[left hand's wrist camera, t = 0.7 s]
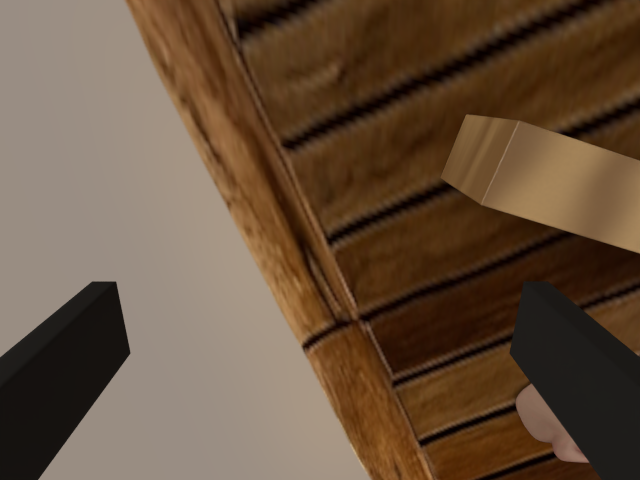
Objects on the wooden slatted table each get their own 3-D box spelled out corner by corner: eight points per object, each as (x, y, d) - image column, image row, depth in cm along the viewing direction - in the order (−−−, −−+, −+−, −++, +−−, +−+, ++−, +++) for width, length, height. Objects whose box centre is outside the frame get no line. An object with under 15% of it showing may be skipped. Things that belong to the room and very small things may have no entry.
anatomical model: (514, 445, 37) (608, 362, 34) (496, 413, 41) (579, 335, 38) (608, 501, 40) (703, 429, 37) (583, 466, 43) (668, 398, 40)
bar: (439, 178, 32) (480, 205, 24) (466, 114, 31) (519, 120, 23) (702, 259, 35) (817, 307, 27) (740, 204, 33) (875, 239, 25)
